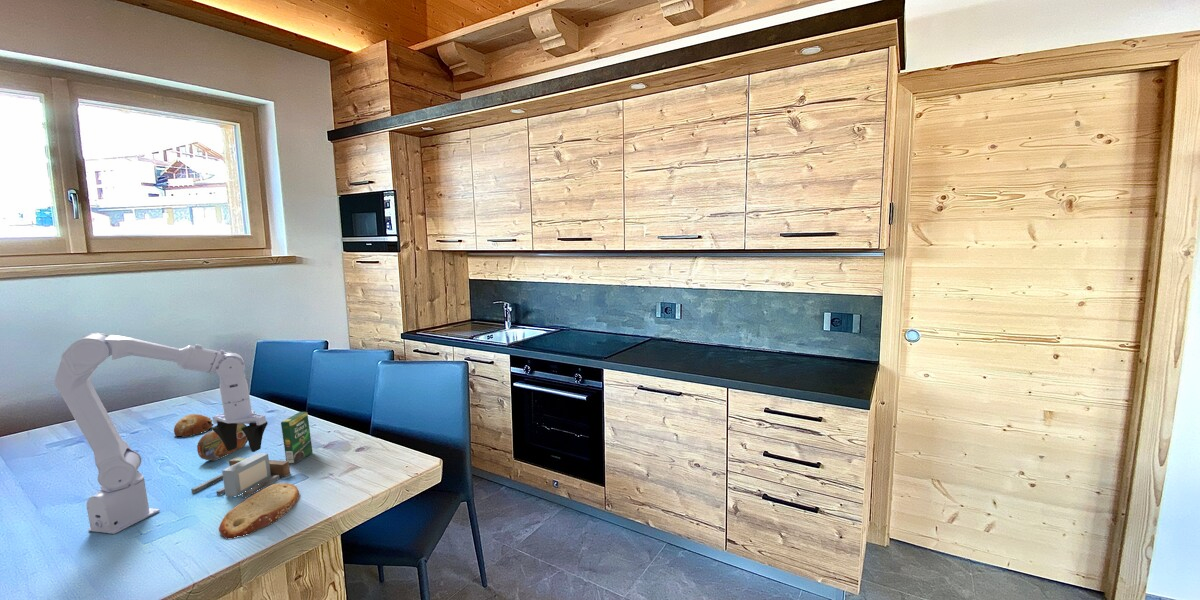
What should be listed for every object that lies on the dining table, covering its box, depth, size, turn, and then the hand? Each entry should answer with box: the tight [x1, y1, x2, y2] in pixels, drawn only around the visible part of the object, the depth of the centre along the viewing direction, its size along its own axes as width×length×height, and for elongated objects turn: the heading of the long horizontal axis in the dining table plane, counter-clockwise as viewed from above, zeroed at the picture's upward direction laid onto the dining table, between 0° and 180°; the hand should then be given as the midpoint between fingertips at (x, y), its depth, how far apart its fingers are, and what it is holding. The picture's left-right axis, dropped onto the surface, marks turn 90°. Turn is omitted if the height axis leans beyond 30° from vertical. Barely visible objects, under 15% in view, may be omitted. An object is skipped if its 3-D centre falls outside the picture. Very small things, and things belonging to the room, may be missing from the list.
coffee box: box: [280, 411, 313, 465], centre depth 144 cm, size 8×3×13 cm, turn 175°
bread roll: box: [173, 413, 215, 437], centre depth 170 cm, size 10×10×8 cm
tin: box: [196, 423, 248, 461], centre depth 150 cm, size 15×3×8 cm, turn 168°
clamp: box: [191, 457, 291, 498], centre depth 130 cm, size 13×18×4 cm
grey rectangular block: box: [221, 452, 272, 497], centre depth 128 cm, size 10×4×7 cm, turn 168°
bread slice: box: [218, 482, 300, 540], centre depth 116 cm, size 18×18×4 cm
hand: (244, 449), depth 127 cm, fingers open, 7 cm apart
